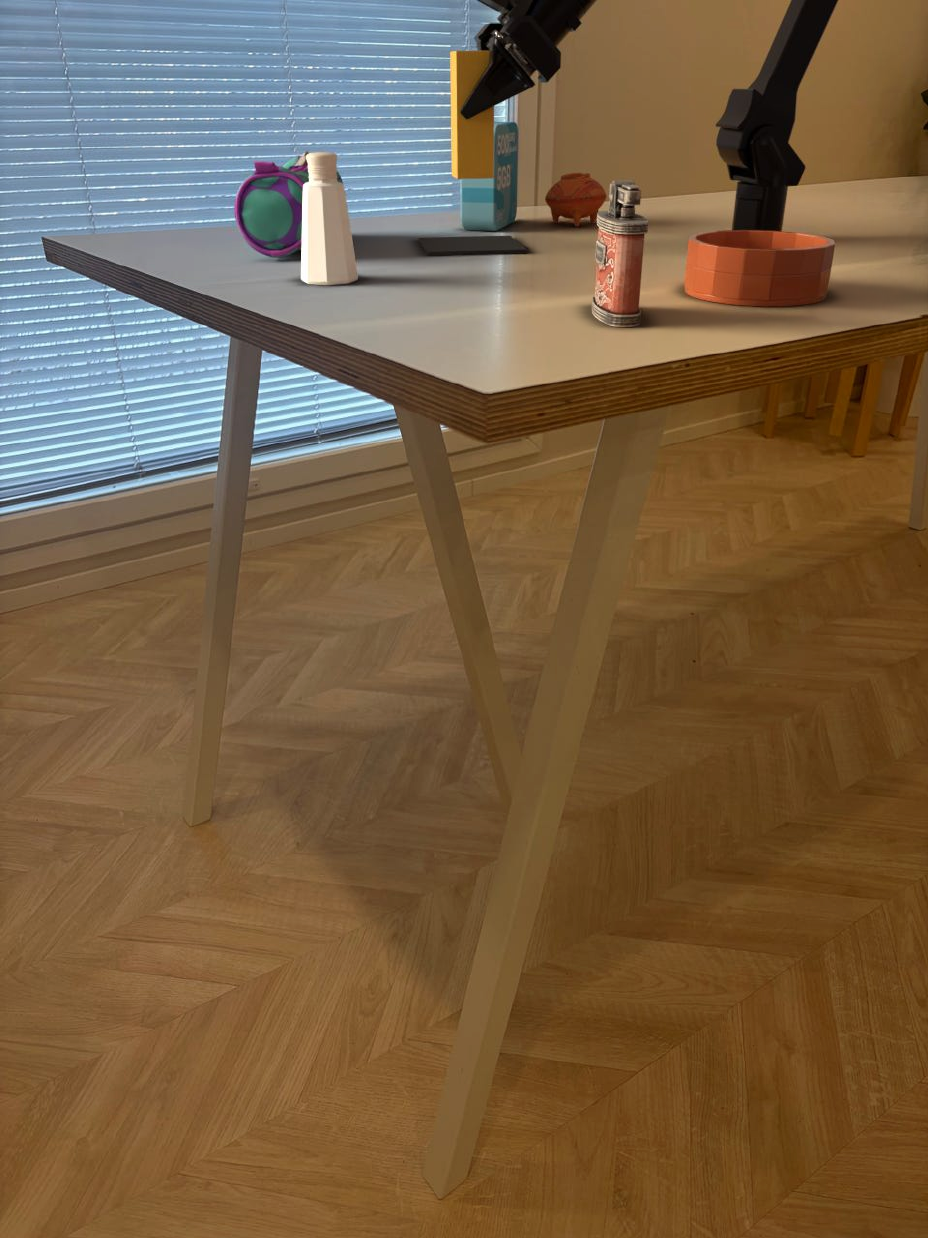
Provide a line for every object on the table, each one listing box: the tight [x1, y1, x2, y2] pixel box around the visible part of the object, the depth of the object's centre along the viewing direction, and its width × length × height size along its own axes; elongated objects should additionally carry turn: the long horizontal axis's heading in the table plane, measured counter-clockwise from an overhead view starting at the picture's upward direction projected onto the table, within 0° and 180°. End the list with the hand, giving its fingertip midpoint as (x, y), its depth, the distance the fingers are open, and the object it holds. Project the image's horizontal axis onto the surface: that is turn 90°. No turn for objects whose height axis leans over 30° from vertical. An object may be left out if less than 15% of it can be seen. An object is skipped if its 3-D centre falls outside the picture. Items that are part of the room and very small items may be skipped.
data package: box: [459, 121, 519, 232], centre depth 126 cm, size 12×4×12 cm, turn 164°
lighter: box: [591, 179, 649, 328], centre depth 78 cm, size 8×3×10 cm, turn 5°
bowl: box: [683, 229, 836, 307], centre depth 87 cm, size 12×12×4 cm
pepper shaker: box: [300, 151, 359, 286], centre depth 92 cm, size 5×5×11 cm
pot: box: [544, 172, 608, 228], centre depth 129 cm, size 8×8×7 cm
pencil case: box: [233, 149, 344, 259], centre depth 111 cm, size 21×9×10 cm, turn 178°
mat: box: [417, 235, 528, 256], centre depth 113 cm, size 11×11×1 cm
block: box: [449, 50, 495, 180], centre depth 106 cm, size 4×4×12 cm
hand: (459, 114), depth 106 cm, fingers closed on block, 4 cm apart
